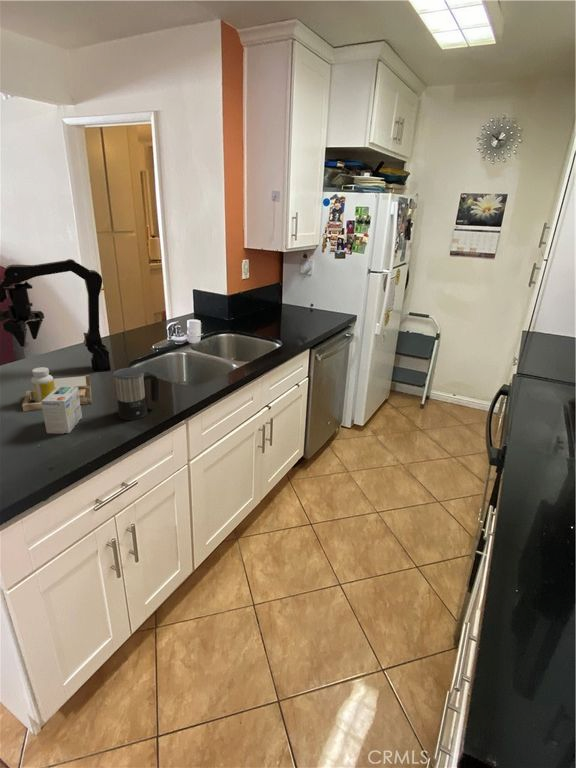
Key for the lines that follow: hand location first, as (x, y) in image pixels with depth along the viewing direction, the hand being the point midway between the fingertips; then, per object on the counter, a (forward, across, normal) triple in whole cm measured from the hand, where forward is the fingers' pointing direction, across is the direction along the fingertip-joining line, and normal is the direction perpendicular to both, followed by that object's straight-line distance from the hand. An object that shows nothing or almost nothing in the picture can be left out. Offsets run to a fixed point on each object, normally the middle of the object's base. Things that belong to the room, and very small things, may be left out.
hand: (28, 342), depth 154 cm
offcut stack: (+14, +20, +22) cm, 33 cm away
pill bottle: (+14, +23, +13) cm, 30 cm away
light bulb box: (+14, +39, +26) cm, 49 cm away
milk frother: (+14, +27, +43) cm, 53 cm away
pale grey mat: (+14, +8, +16) cm, 22 cm away
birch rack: (+14, +21, +17) cm, 31 cm away
